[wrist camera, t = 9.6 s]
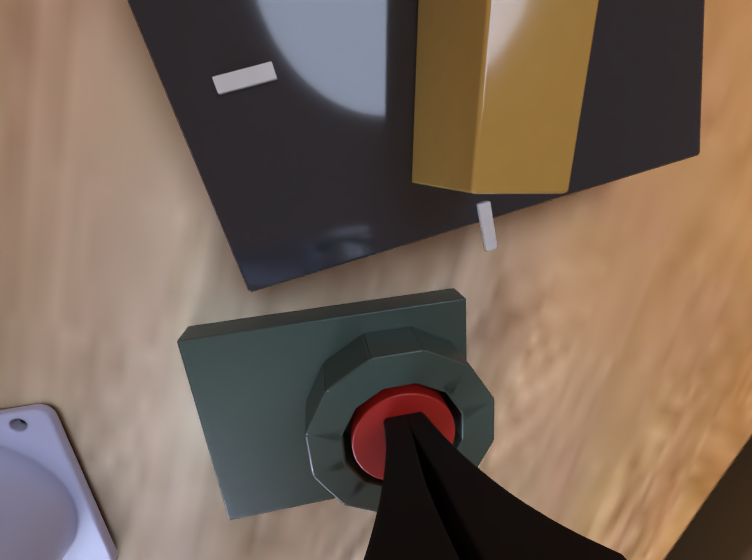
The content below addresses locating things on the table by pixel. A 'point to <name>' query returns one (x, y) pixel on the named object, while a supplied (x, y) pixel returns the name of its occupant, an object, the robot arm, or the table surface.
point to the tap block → (384, 120)
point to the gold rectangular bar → (500, 93)
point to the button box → (324, 393)
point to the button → (389, 404)
